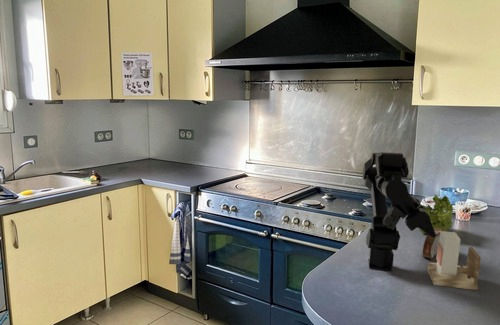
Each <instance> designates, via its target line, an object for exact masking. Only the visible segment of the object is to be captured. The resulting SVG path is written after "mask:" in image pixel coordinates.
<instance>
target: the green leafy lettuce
mask: <svg viewBox="0 0 500 325" xmlns="http://www.w3.org/2000/svg"><path fill="white" fill-rule="evenodd" d="M417 199H418V200H419V201H420V199H419V198H417ZM432 200H433V202H434V204H433V206H431V205H430V204H425V205H422V204H421V203H420V204H419V205H420V206H423V207H424V209H425V211H426V212H427V213H428V214H429V216H430V220H431V223H432V226H433V228H438V229H442V230H444V231H446V232H449V230H450V229H451V228H452V226H453V222H452V219H453V217H454V215H453V213H454V207H453V206H454V205H453V204H451V201H450V200H449V197H448V196H447V195H444V196H443V197H439V196H438V195H436V194H434V197H432ZM420 202H421V201H420ZM420 206H418V207H417V208H419V207H420ZM419 232H421V233H422V234H426V235H427V233H425V232H424V231H423V230H421V229H420V228H419Z"/></svg>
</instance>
